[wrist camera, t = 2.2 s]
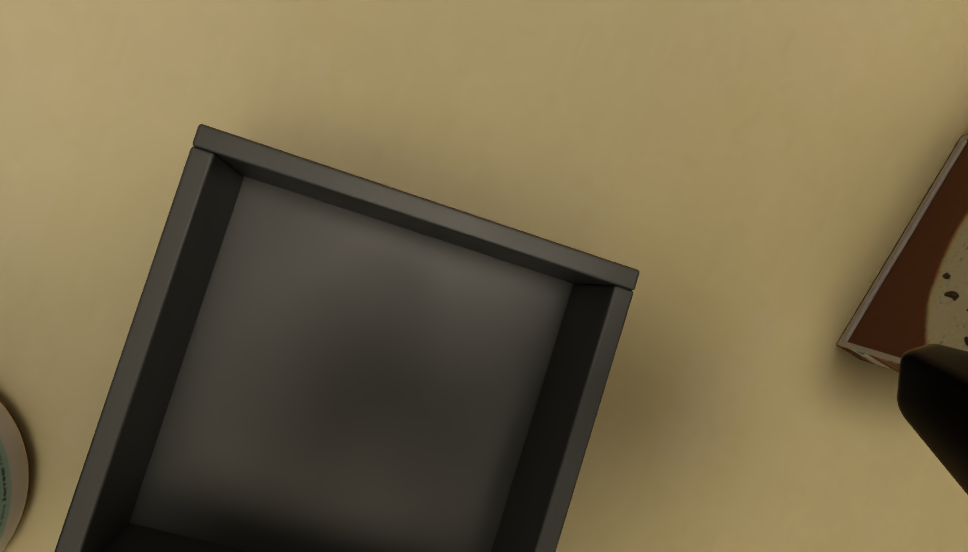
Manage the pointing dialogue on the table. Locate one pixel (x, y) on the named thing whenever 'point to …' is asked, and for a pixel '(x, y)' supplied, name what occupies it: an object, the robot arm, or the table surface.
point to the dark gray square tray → (345, 372)
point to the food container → (921, 278)
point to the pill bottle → (11, 477)
